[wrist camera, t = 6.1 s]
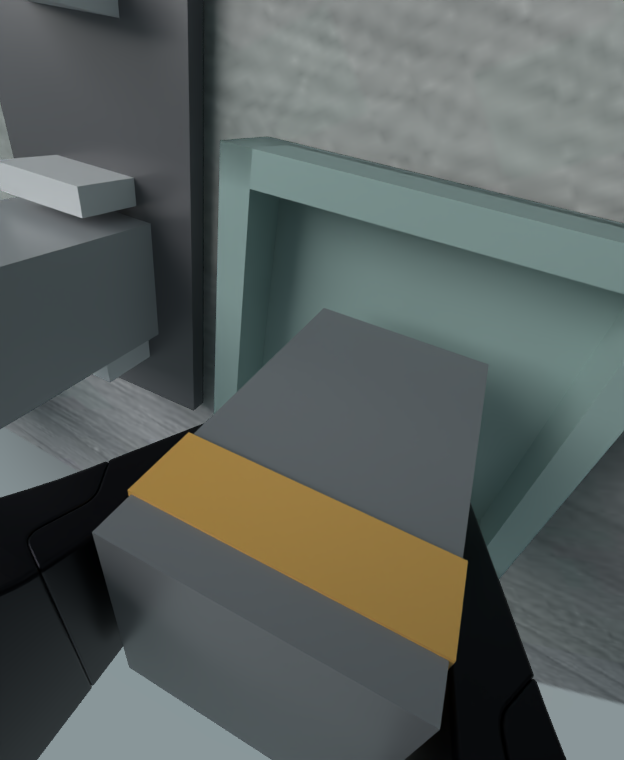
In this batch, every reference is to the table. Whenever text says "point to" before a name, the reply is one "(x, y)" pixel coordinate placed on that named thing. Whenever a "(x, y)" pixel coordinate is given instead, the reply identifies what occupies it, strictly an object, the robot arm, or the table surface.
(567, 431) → the tray
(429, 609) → the block
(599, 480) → the table surface
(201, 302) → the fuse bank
